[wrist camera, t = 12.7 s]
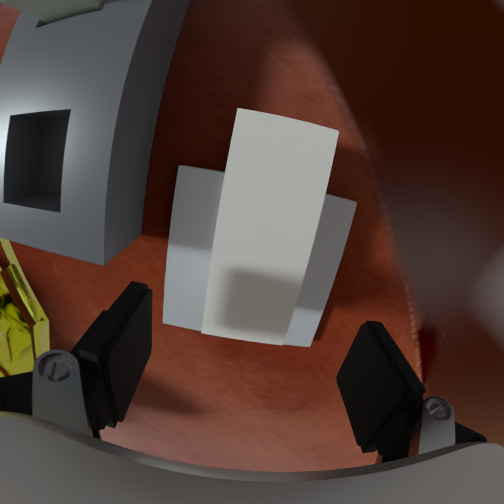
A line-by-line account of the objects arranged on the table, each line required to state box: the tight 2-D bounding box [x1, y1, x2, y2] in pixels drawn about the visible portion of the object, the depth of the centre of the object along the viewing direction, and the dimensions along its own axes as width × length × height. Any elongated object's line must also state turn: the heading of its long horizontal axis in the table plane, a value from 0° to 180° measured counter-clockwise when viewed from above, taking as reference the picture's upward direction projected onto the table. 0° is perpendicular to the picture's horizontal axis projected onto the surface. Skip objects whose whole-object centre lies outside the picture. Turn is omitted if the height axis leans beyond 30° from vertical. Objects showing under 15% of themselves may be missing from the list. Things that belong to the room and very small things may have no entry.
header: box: [0, 0, 191, 265], centre depth 10 cm, size 19×10×5 cm, turn 169°
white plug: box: [201, 108, 339, 345], centre depth 13 cm, size 4×4×10 cm
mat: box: [163, 165, 357, 347], centre depth 16 cm, size 10×10×1 cm
